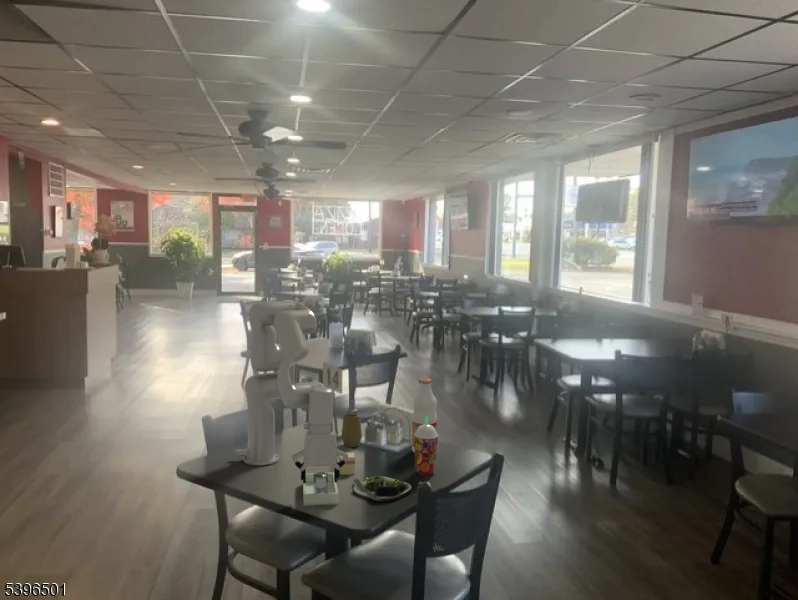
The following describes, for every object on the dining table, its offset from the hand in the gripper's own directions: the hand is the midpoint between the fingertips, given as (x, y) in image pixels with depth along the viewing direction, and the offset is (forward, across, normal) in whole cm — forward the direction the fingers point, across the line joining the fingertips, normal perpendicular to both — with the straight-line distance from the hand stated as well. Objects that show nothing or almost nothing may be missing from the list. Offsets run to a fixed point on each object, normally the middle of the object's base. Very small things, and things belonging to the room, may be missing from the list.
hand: (319, 481), depth 200 cm
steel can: (+5, 0, 0) cm, 5 cm away
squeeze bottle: (+6, +14, +52) cm, 54 cm away
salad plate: (+6, +20, +3) cm, 21 cm away
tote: (+6, 0, +4) cm, 7 cm away
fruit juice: (+6, +41, +42) cm, 59 cm away
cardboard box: (+6, +10, +22) cm, 25 cm away
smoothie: (+6, +37, +18) cm, 42 cm away
